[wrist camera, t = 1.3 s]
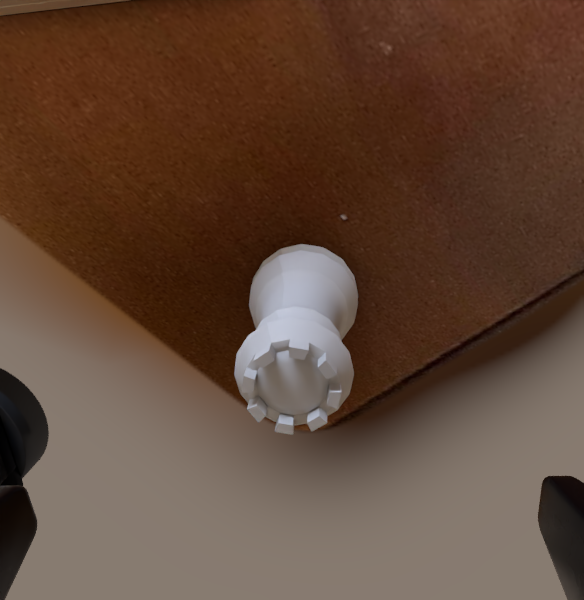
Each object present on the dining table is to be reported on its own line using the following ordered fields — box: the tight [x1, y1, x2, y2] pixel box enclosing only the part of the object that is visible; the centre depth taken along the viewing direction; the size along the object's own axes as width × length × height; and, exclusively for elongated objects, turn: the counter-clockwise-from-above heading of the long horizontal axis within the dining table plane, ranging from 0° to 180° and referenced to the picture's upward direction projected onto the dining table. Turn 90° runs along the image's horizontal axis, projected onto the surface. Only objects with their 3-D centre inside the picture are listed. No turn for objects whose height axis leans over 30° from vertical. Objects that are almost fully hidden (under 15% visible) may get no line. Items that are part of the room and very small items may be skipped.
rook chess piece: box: [234, 244, 358, 435], centre depth 15 cm, size 4×4×8 cm
